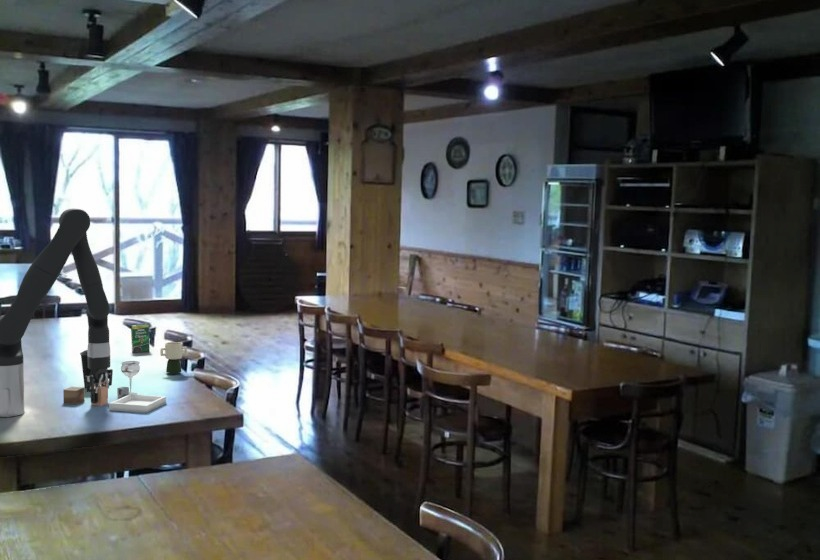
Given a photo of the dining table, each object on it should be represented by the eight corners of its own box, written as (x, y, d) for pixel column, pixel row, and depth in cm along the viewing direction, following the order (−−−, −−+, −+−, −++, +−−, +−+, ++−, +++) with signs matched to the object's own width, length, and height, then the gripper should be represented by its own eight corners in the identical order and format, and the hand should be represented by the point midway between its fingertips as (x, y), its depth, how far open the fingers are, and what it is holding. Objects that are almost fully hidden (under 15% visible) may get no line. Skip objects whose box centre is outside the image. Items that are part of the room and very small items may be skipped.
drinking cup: (80, 385, 311) (80, 335, 309) (101, 384, 314) (101, 334, 312) (80, 390, 304) (79, 338, 302) (101, 388, 307) (101, 337, 305)
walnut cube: (76, 404, 283) (76, 390, 283) (63, 403, 284) (63, 389, 284) (84, 401, 288) (84, 387, 288) (71, 400, 289) (71, 386, 288)
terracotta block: (101, 405, 282) (101, 389, 281) (91, 404, 283) (91, 388, 282) (107, 403, 286) (107, 386, 285) (97, 402, 287) (97, 385, 286)
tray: (146, 412, 274) (146, 405, 273) (109, 410, 276) (109, 403, 276) (166, 403, 287) (166, 396, 287) (130, 400, 290) (130, 393, 289)
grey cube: (125, 400, 290) (125, 389, 290) (115, 399, 291) (115, 389, 290) (131, 397, 294) (131, 387, 294) (121, 397, 295) (121, 386, 294)
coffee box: (132, 353, 380) (131, 325, 379) (131, 351, 382) (130, 324, 381) (149, 351, 384) (149, 325, 382) (148, 350, 386) (148, 324, 385)
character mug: (185, 371, 342) (185, 341, 341) (188, 374, 336) (188, 343, 335) (158, 372, 337) (158, 342, 336) (162, 376, 331) (162, 345, 330)
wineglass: (134, 396, 295) (133, 365, 294) (117, 395, 297) (117, 363, 296) (143, 392, 302) (143, 361, 301) (127, 391, 303) (127, 360, 302)
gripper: (100, 350, 290) (101, 395, 292) (77, 357, 276) (78, 405, 278) (119, 351, 289) (119, 397, 291) (97, 358, 275) (97, 406, 276)
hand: (99, 400), depth 284 cm, fingers open, 6 cm apart
